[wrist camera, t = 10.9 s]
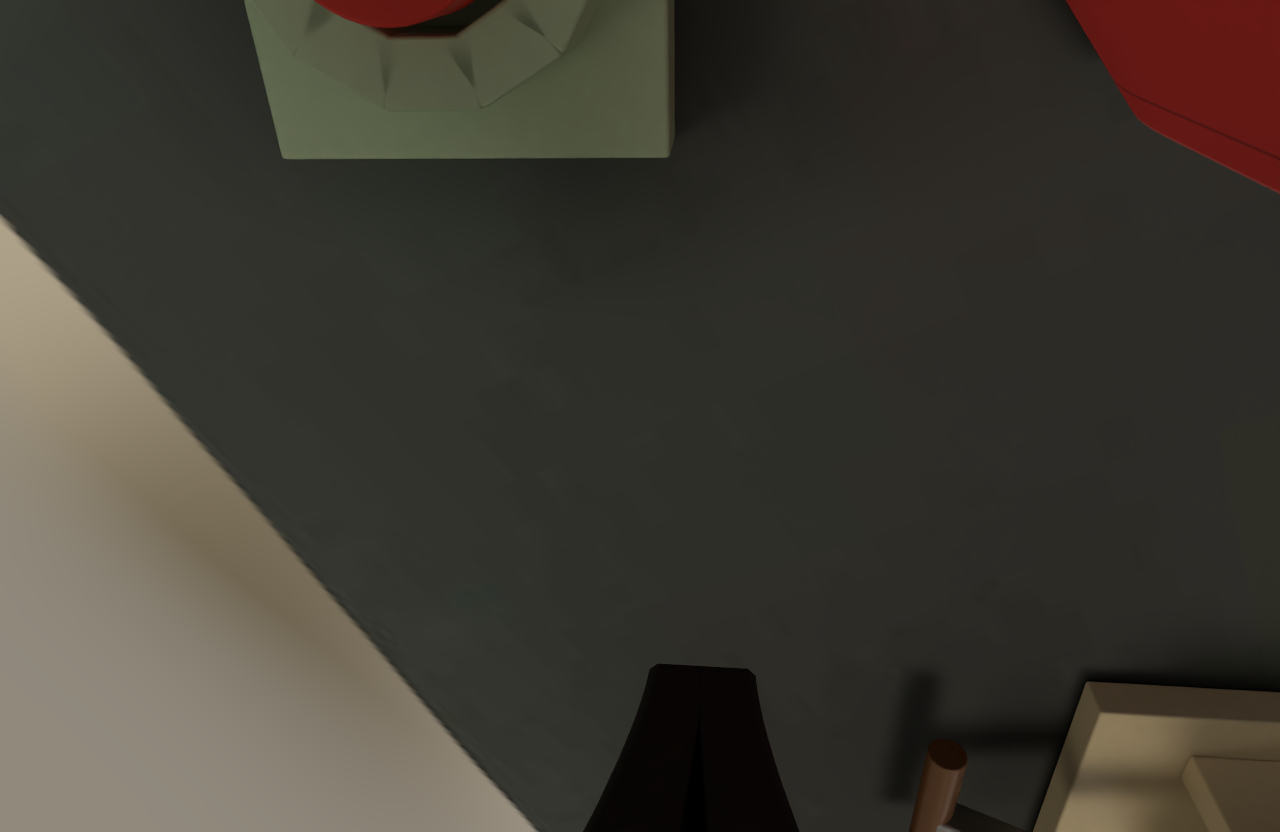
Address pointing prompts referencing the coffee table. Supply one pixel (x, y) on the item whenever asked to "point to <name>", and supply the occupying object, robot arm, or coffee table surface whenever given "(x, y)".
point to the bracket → (1167, 762)
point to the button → (392, 10)
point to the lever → (948, 795)
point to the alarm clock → (1198, 73)
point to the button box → (472, 81)
